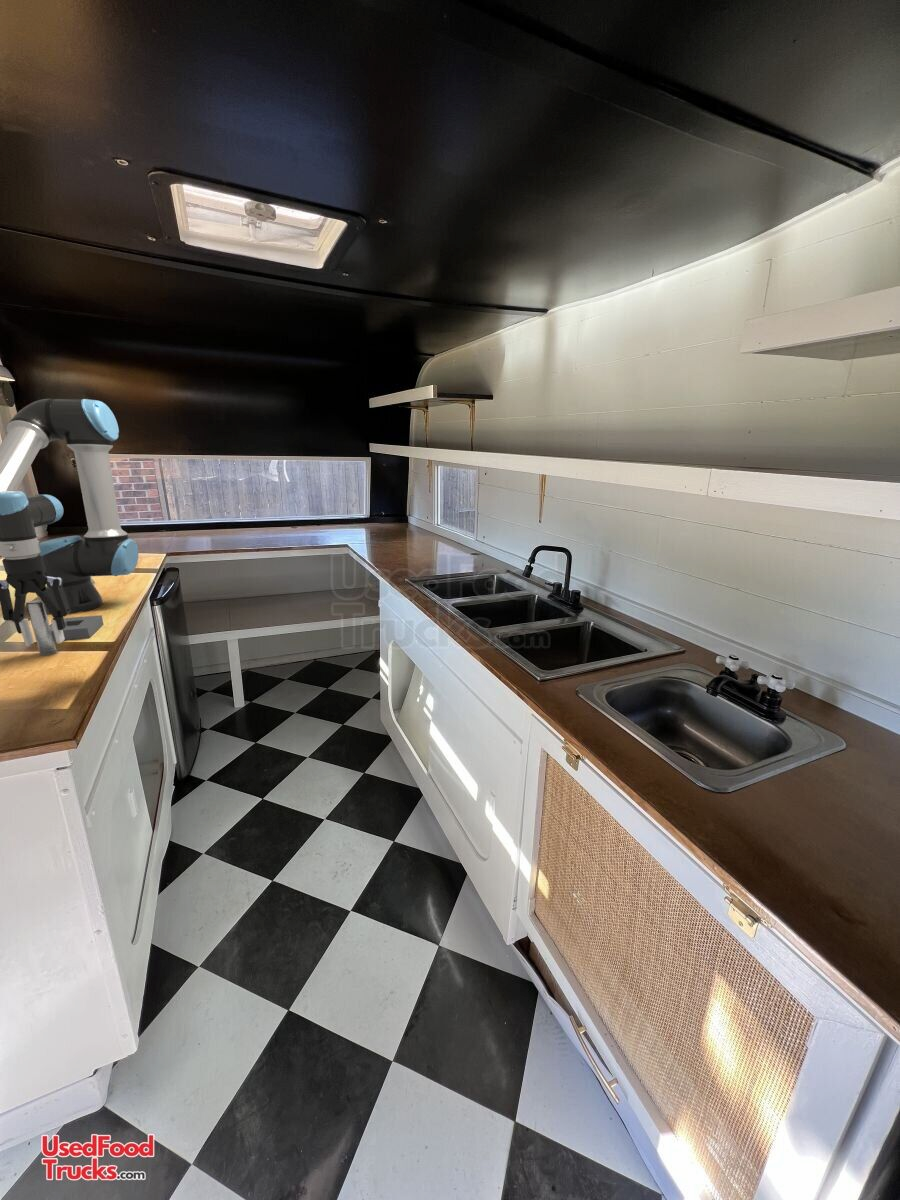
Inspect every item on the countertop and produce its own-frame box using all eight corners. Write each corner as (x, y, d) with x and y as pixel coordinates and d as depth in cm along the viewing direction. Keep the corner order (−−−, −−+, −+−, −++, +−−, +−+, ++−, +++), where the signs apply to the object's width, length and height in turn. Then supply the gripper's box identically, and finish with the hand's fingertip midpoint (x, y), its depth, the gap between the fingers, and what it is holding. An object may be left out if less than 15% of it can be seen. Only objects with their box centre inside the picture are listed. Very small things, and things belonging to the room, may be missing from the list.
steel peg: (43, 650, 128) (29, 600, 123) (58, 649, 129) (45, 599, 124) (37, 656, 125) (23, 605, 120) (53, 654, 126) (39, 603, 121)
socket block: (60, 628, 143) (58, 618, 142) (103, 624, 146) (101, 615, 145) (43, 642, 133) (40, 632, 132) (89, 638, 136) (87, 628, 135)
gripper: (-36, 562, 113) (-8, 652, 120) (60, 557, 118) (82, 644, 125) (-17, 554, 119) (9, 641, 127) (73, 550, 125) (93, 633, 132)
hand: (45, 642), depth 126 cm, fingers open, 6 cm apart
